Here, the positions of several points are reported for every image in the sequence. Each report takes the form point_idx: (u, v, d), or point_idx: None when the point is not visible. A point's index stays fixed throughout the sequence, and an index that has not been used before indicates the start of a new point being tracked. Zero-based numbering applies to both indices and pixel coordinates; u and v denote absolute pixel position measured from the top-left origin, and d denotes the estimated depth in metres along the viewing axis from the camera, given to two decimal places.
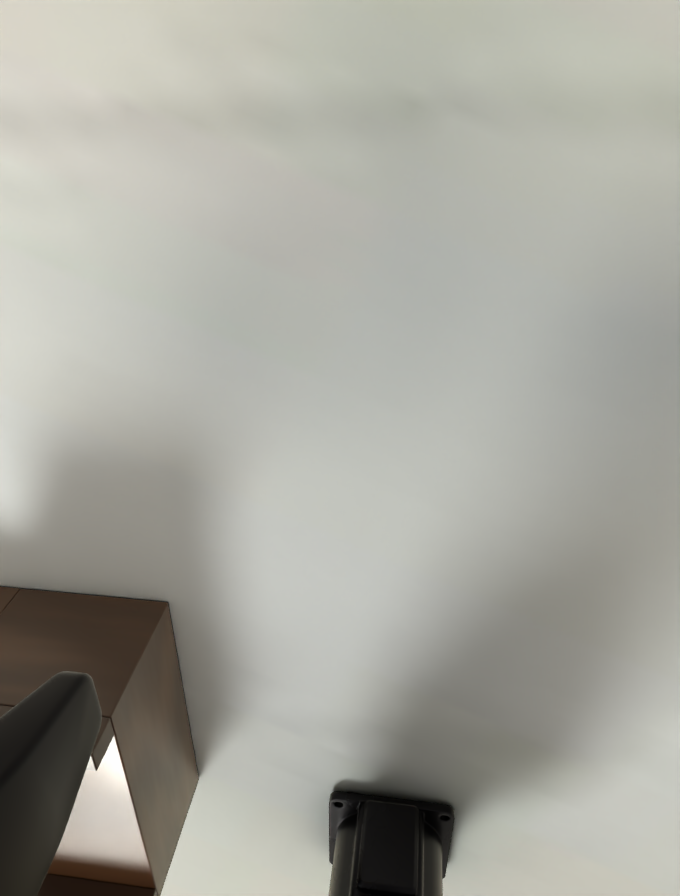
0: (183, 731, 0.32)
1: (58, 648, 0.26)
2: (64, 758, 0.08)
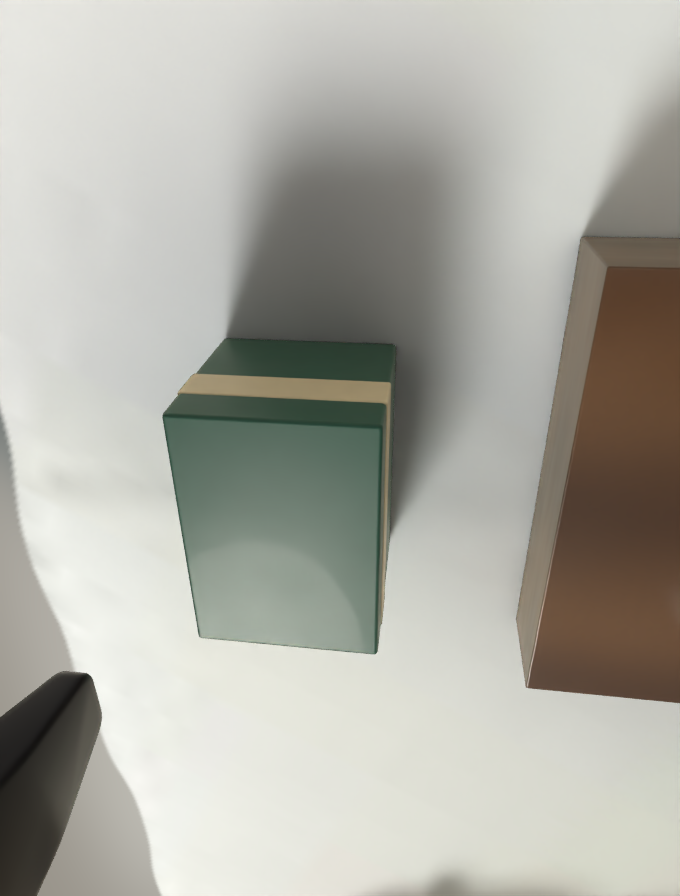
0: None
1: None
2: (64, 758, 0.08)
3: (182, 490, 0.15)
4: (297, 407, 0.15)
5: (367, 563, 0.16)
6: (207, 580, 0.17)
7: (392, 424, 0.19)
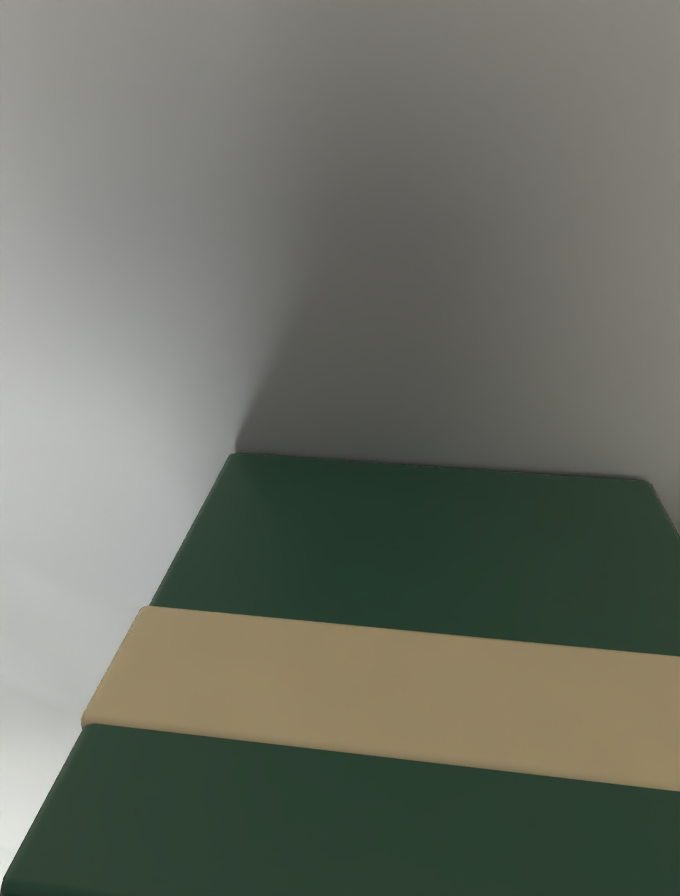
0: None
1: None
2: None
3: None
4: (519, 844, 0.04)
5: None
6: None
7: None
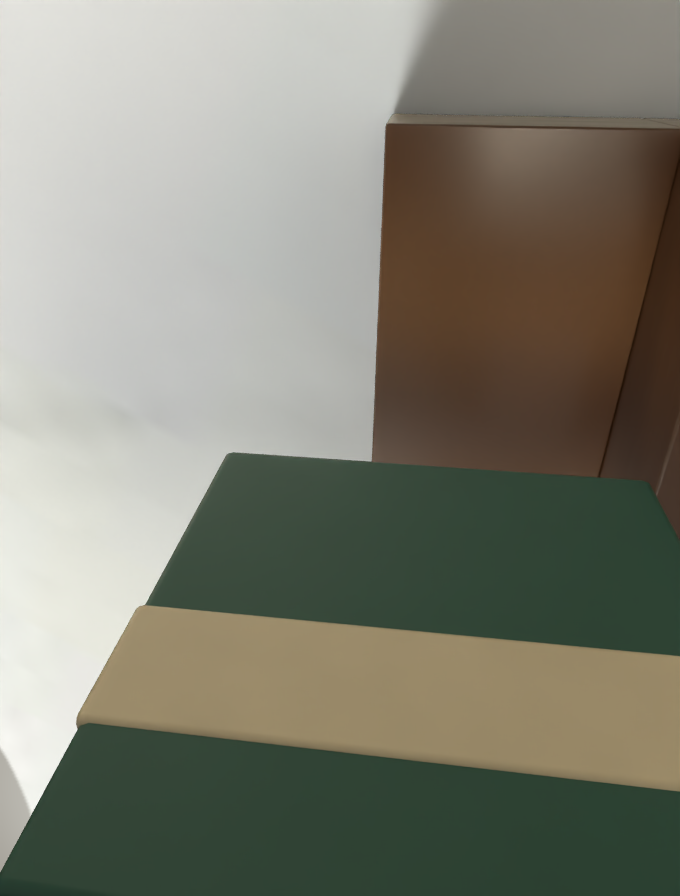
0: None
1: None
2: None
3: None
4: (514, 844, 0.04)
5: None
6: None
7: None
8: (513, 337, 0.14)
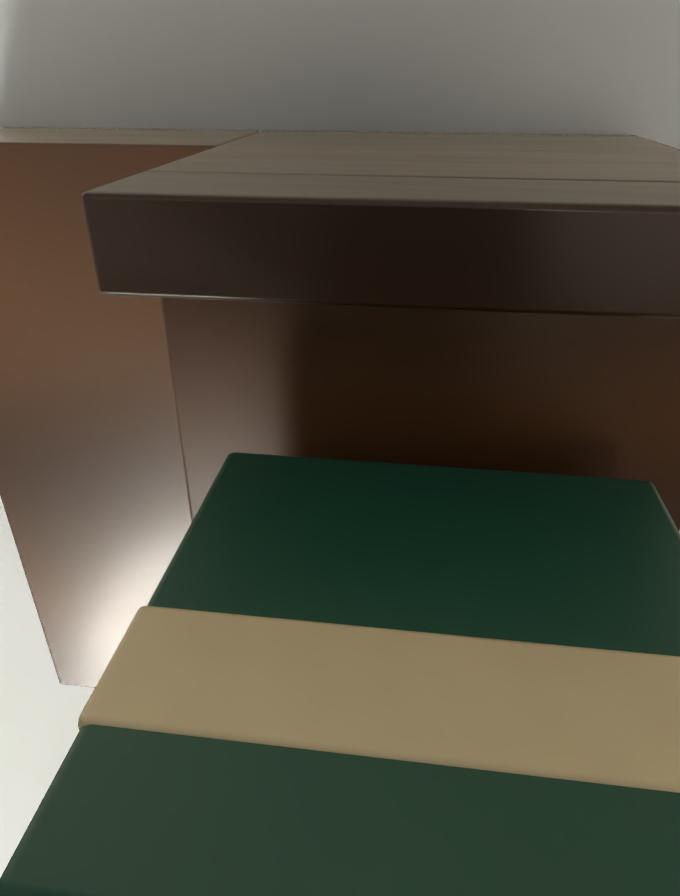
0: None
1: (446, 150, 0.09)
2: None
3: None
4: (521, 847, 0.04)
5: None
6: None
7: None
8: (107, 383, 0.12)
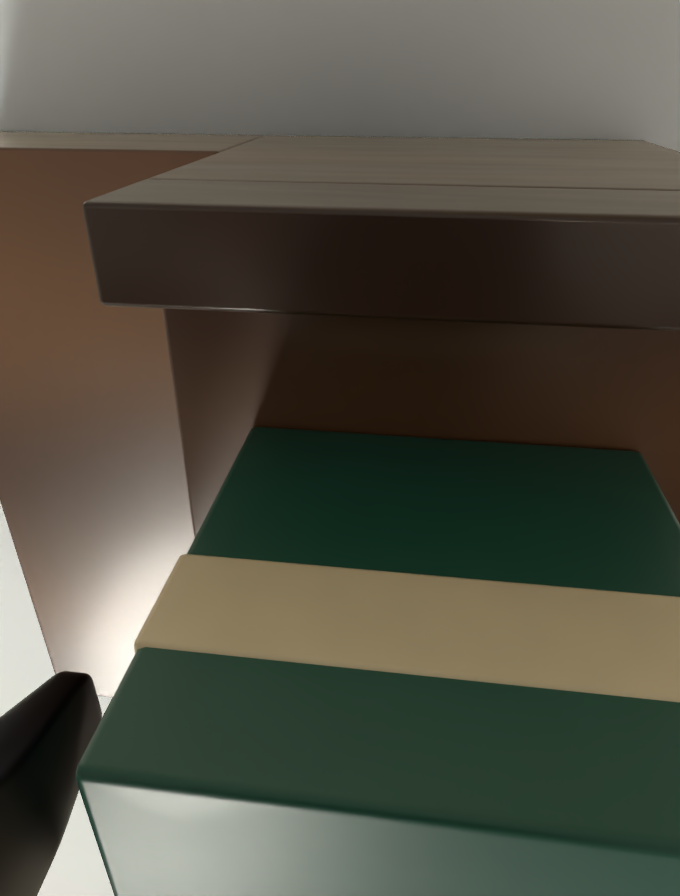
0: None
1: (453, 156, 0.09)
2: (64, 758, 0.08)
3: None
4: (519, 738, 0.05)
5: None
6: None
7: None
8: (108, 390, 0.12)
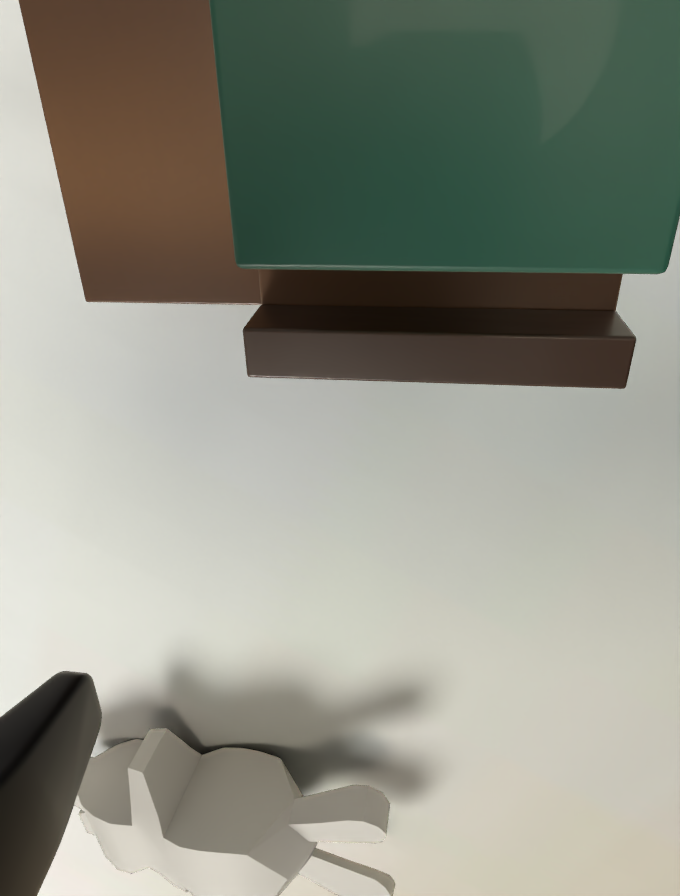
0: None
1: None
2: (64, 758, 0.08)
3: None
4: None
5: None
6: (262, 58, 0.07)
7: None
8: None
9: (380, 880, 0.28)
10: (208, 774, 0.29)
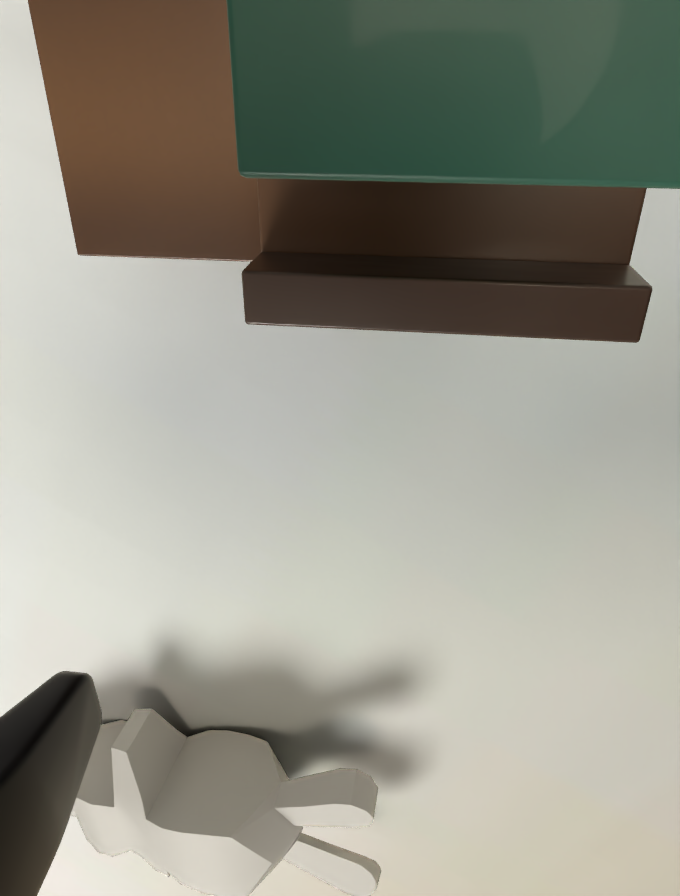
0: None
1: None
2: (64, 758, 0.08)
3: None
4: None
5: None
6: None
7: None
8: None
9: (366, 866, 0.28)
10: (193, 756, 0.29)
